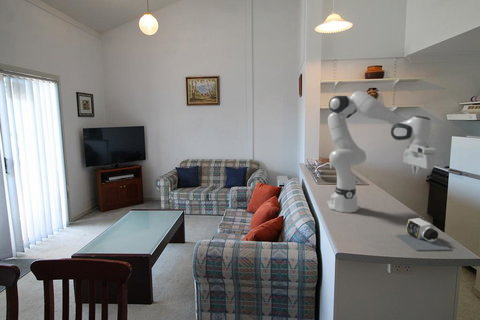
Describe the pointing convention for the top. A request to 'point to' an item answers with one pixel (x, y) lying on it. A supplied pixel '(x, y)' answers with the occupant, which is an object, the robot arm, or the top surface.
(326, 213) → the top surface
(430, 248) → the dark rubber mat
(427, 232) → the medicine bottle
